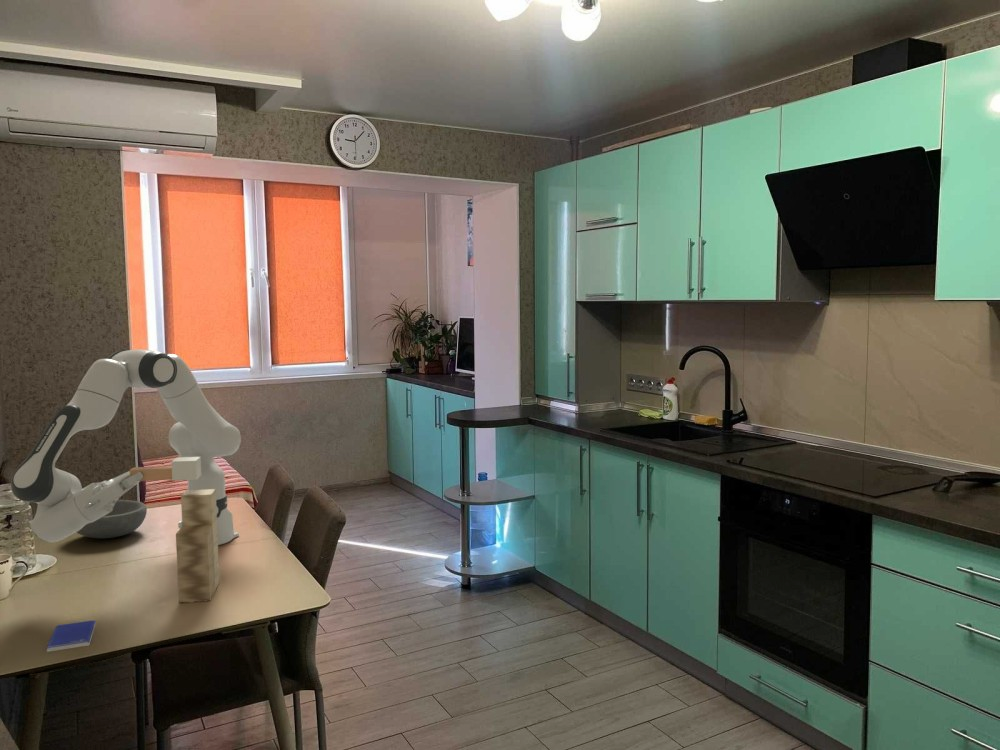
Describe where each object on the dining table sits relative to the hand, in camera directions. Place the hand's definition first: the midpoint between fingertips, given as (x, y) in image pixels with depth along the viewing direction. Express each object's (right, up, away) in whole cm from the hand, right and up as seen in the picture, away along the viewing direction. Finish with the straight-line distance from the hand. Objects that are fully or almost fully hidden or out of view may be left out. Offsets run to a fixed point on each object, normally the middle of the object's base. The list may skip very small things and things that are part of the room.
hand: (144, 472), depth 194 cm
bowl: (-36, -28, +52) cm, 69 cm away
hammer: (+5, -2, +1) cm, 5 cm away
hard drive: (-5, -35, -24) cm, 43 cm away
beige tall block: (+14, -32, +2) cm, 35 cm away
